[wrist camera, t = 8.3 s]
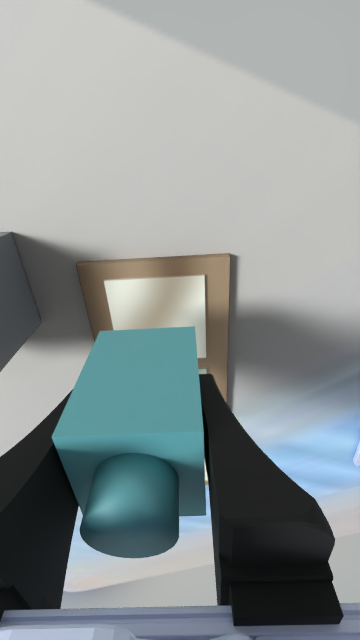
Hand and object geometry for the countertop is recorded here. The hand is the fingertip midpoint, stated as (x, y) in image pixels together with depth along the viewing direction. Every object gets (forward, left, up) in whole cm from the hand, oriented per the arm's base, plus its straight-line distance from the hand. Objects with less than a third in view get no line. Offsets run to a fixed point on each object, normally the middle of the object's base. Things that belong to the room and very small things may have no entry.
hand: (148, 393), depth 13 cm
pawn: (0, 0, -2) cm, 2 cm away
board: (0, +7, -7) cm, 10 cm away
